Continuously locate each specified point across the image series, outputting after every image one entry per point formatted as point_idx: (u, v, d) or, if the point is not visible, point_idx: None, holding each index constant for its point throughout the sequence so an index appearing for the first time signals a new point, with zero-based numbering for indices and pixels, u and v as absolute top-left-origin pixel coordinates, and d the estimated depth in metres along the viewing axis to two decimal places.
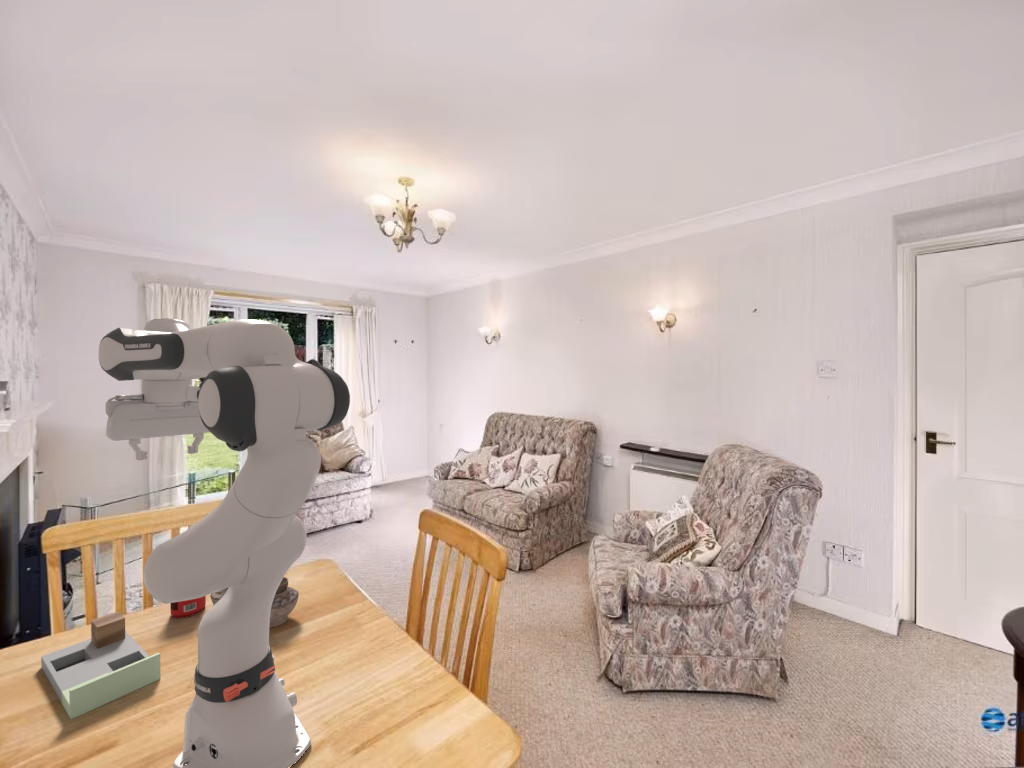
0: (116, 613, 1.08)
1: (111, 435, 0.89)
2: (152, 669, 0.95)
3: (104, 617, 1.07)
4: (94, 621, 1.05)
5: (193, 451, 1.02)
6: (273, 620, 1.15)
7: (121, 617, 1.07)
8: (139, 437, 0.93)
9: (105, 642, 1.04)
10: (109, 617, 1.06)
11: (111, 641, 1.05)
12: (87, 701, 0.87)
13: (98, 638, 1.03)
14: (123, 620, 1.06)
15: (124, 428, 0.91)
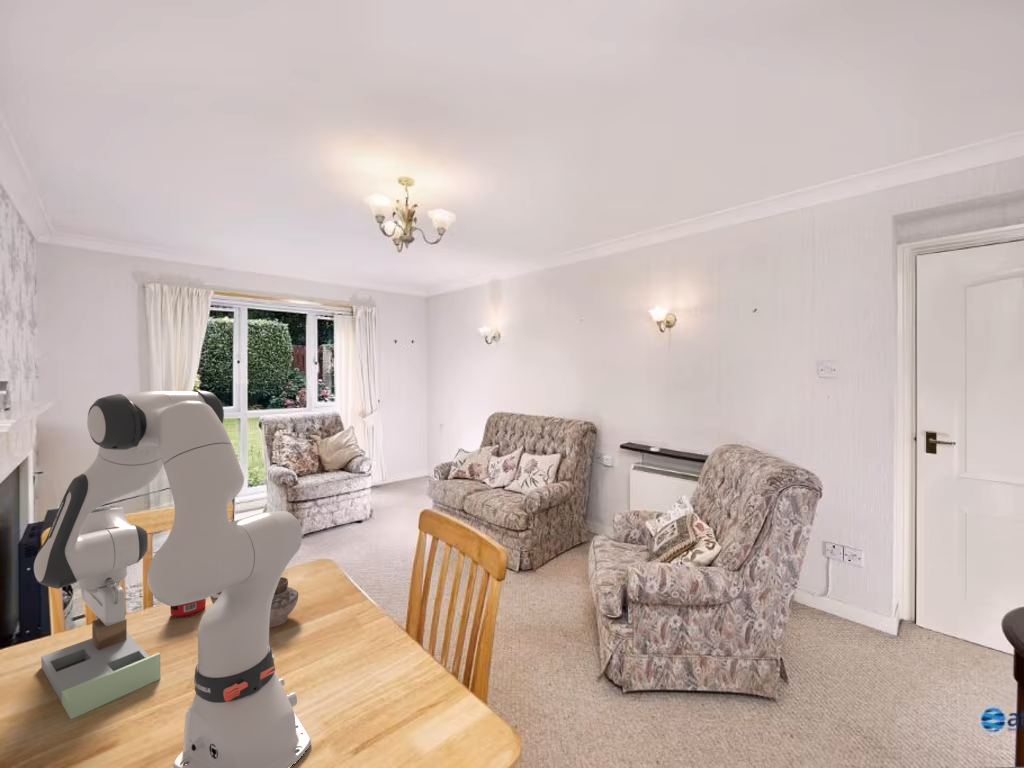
0: None
1: (124, 616, 1.04)
2: (152, 669, 0.95)
3: None
4: (95, 622, 1.04)
5: None
6: (273, 620, 1.15)
7: None
8: None
9: (106, 643, 1.03)
10: None
11: (112, 642, 1.04)
12: (87, 701, 0.87)
13: (99, 639, 1.02)
14: (124, 622, 1.06)
15: None
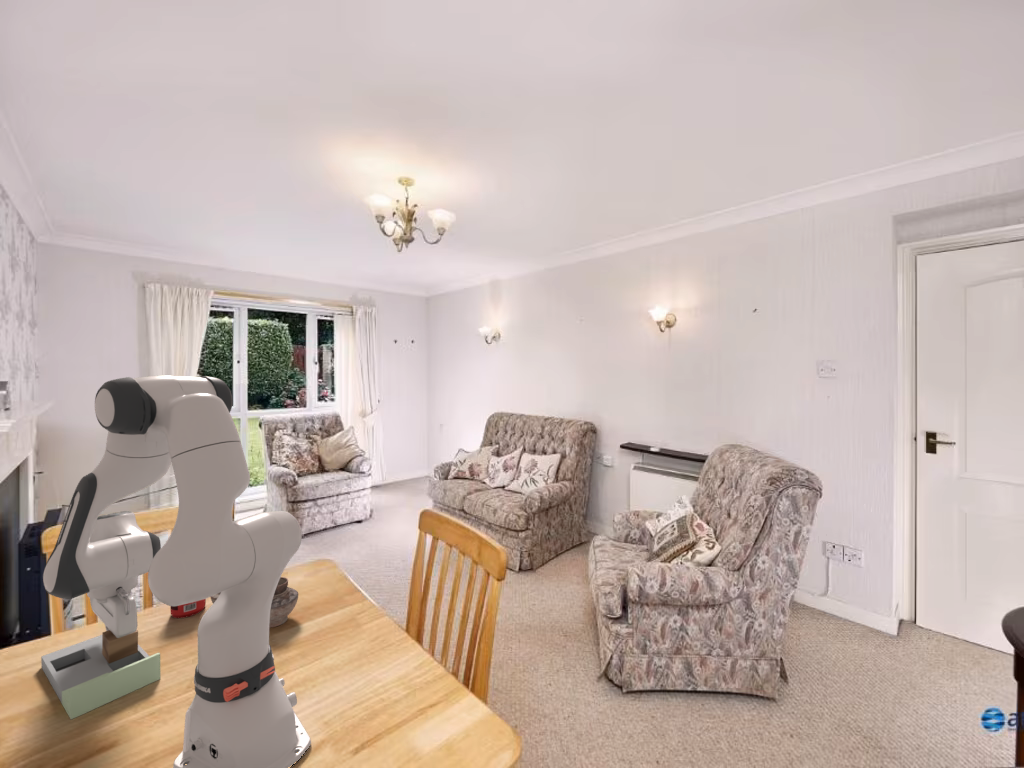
0: None
1: (136, 627, 0.99)
2: (152, 669, 0.95)
3: None
4: (106, 634, 0.99)
5: None
6: (273, 620, 1.15)
7: None
8: None
9: (117, 657, 0.98)
10: None
11: (123, 655, 0.99)
12: (87, 701, 0.87)
13: (110, 653, 0.97)
14: (136, 634, 1.01)
15: None
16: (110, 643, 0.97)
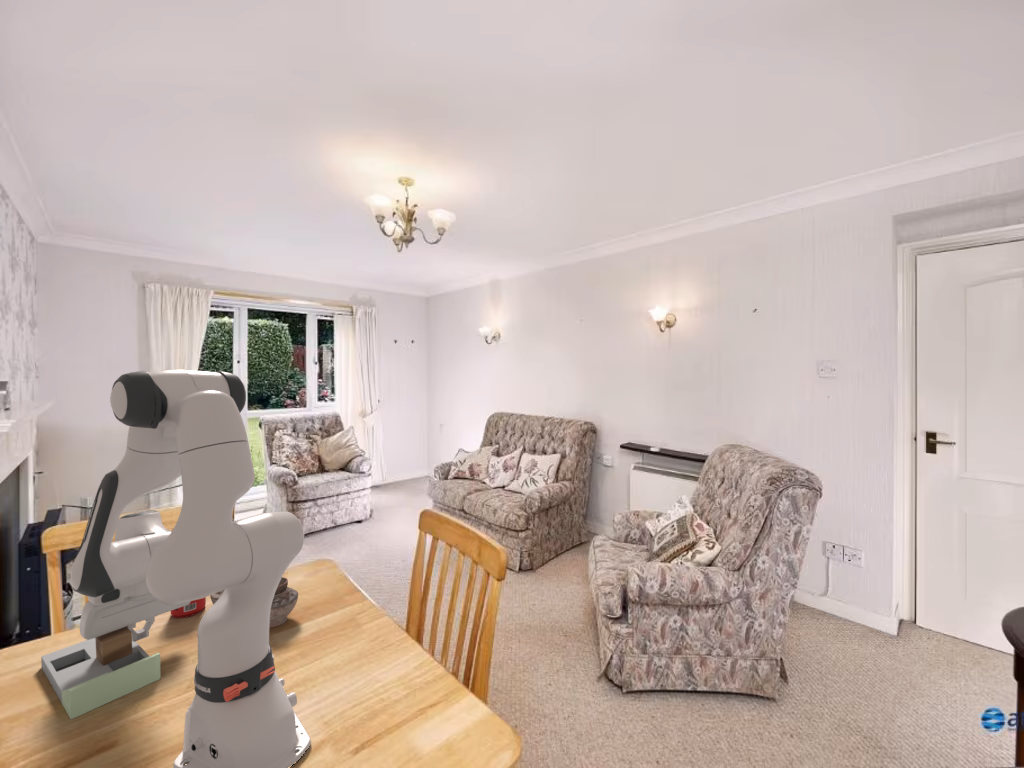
0: None
1: None
2: (152, 669, 0.95)
3: None
4: (99, 636, 0.99)
5: None
6: (272, 620, 1.15)
7: (127, 631, 1.01)
8: None
9: (111, 658, 0.98)
10: (114, 632, 1.00)
11: (117, 657, 0.99)
12: (87, 701, 0.87)
13: (104, 654, 0.97)
14: (129, 635, 1.00)
15: None
16: (103, 645, 0.97)
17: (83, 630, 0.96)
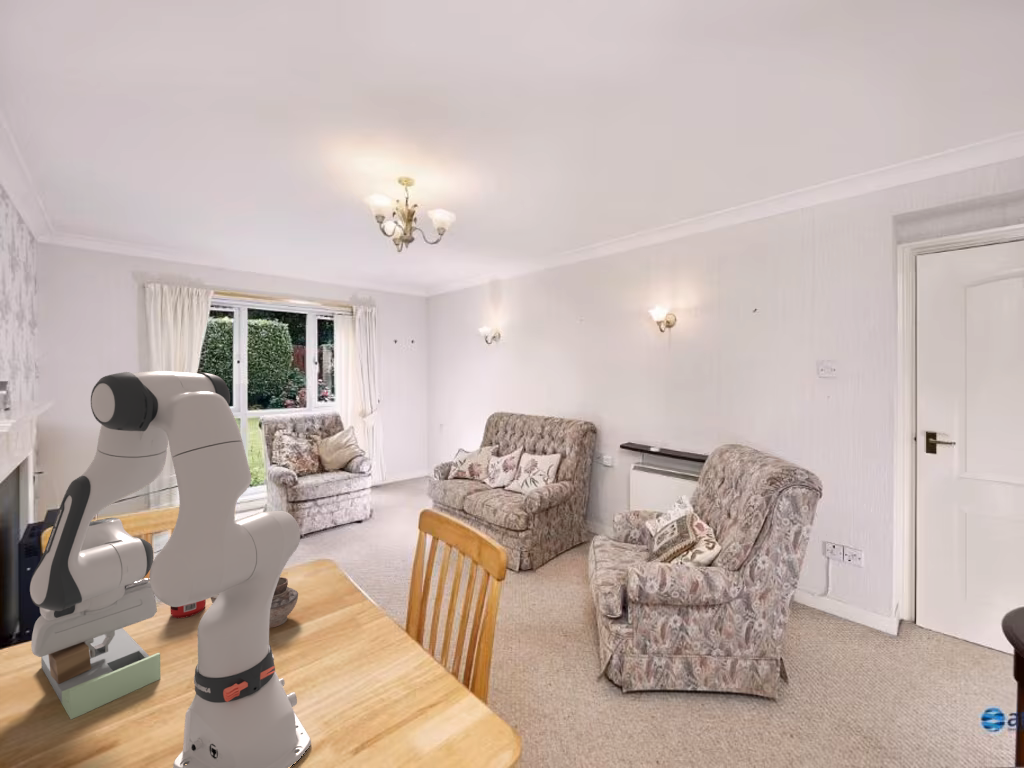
0: None
1: None
2: (152, 669, 0.95)
3: None
4: (52, 653, 0.93)
5: None
6: (272, 620, 1.15)
7: (84, 646, 0.95)
8: None
9: (67, 676, 0.92)
10: (70, 648, 0.94)
11: (74, 674, 0.93)
12: (87, 701, 0.87)
13: (58, 672, 0.91)
14: (86, 650, 0.94)
15: None
16: (57, 662, 0.91)
17: (34, 647, 0.90)
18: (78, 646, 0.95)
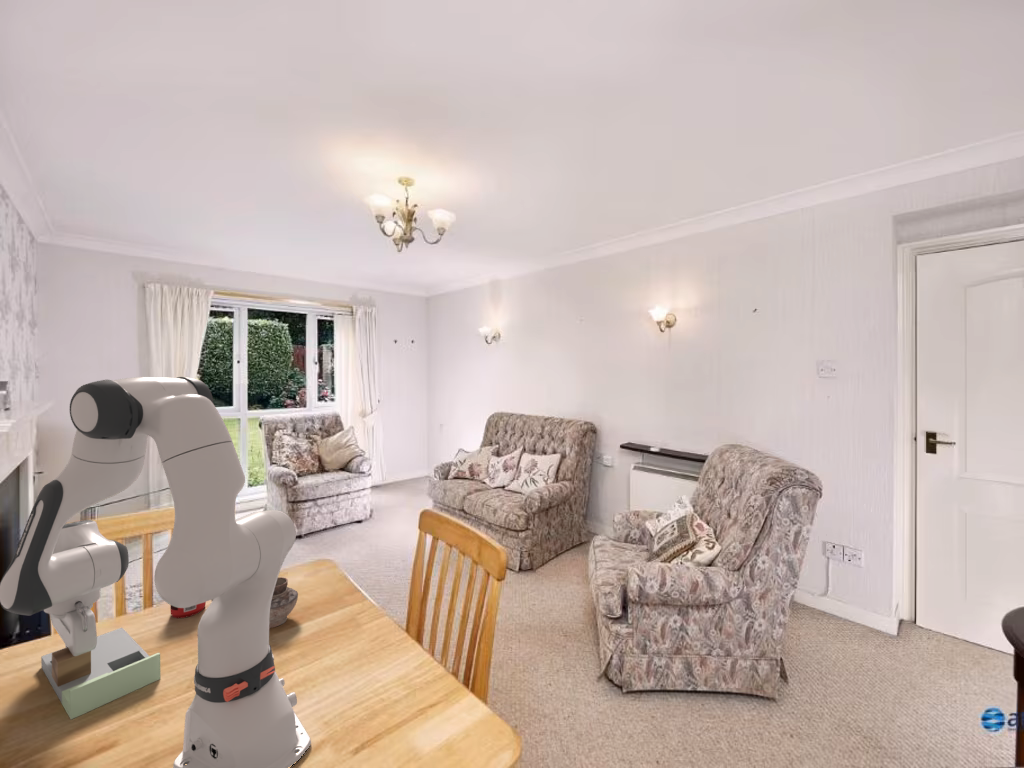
0: None
1: (95, 644, 0.93)
2: (152, 669, 0.95)
3: (67, 649, 0.94)
4: (55, 654, 0.92)
5: None
6: (272, 620, 1.15)
7: None
8: None
9: (67, 679, 0.91)
10: None
11: (74, 677, 0.92)
12: (87, 701, 0.87)
13: (59, 675, 0.90)
14: (88, 653, 0.94)
15: None
16: (59, 664, 0.90)
17: None
18: None
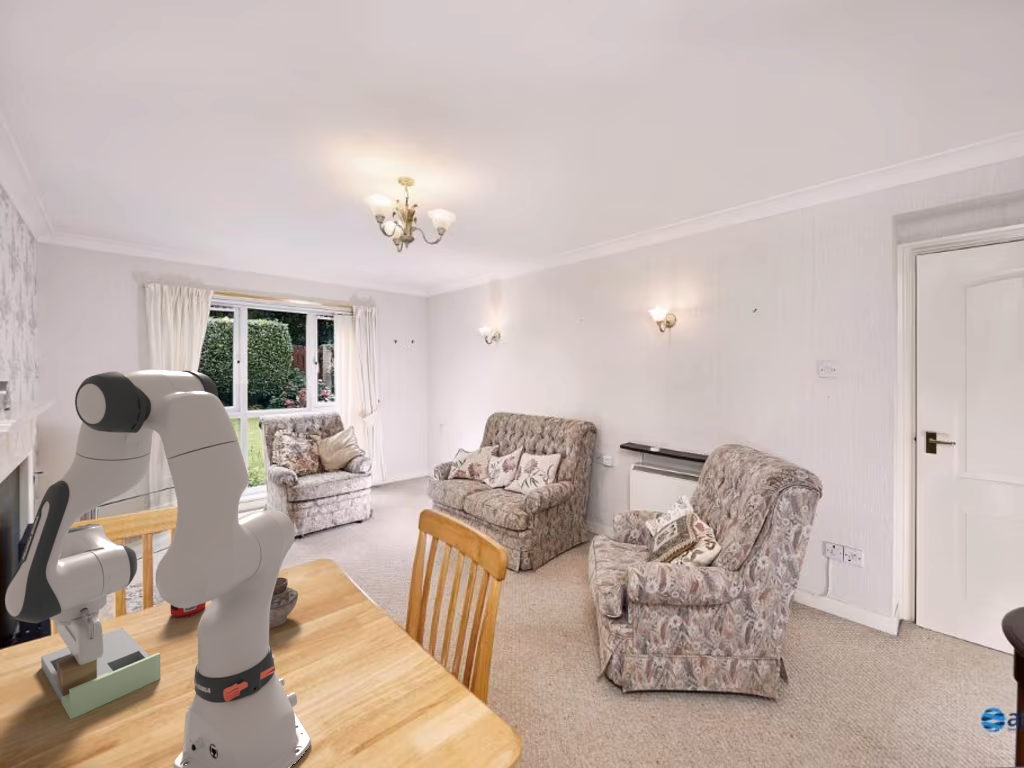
0: None
1: (102, 652, 0.90)
2: (152, 669, 0.95)
3: (72, 657, 0.91)
4: (60, 662, 0.90)
5: None
6: (272, 621, 1.15)
7: None
8: None
9: None
10: None
11: None
12: (87, 701, 0.87)
13: (64, 684, 0.88)
14: (94, 662, 0.91)
15: None
16: (64, 673, 0.87)
17: None
18: None
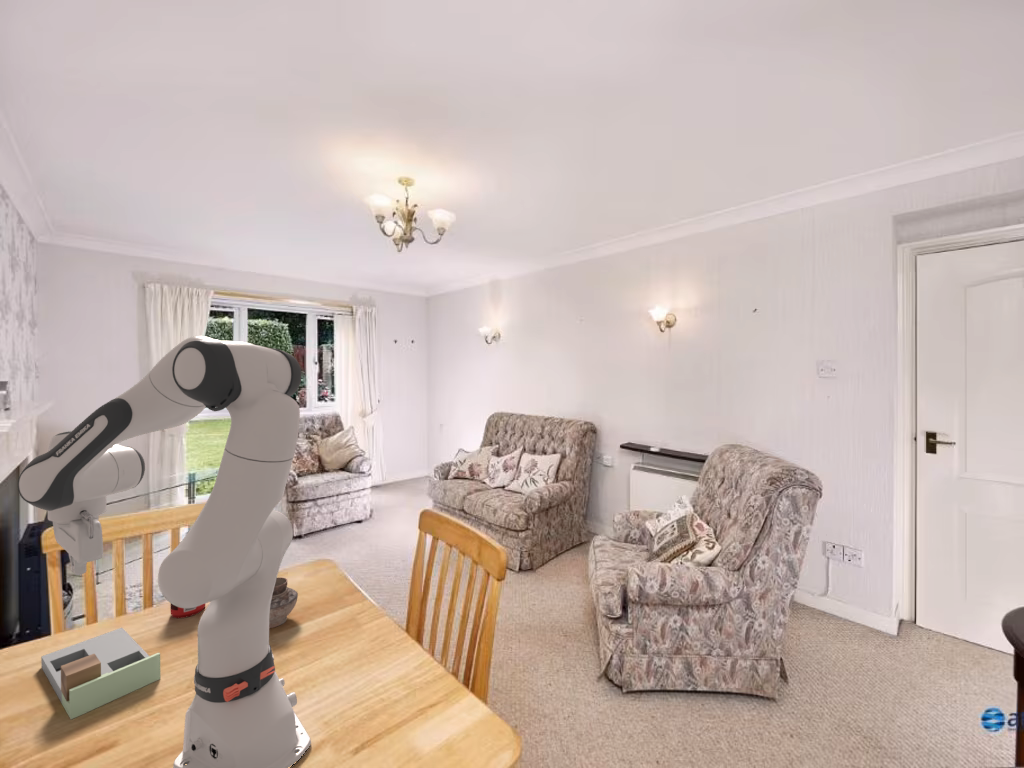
0: (91, 656, 0.92)
1: (101, 553, 0.89)
2: (152, 669, 0.95)
3: (76, 661, 0.90)
4: (64, 667, 0.88)
5: None
6: (272, 621, 1.15)
7: (96, 662, 0.90)
8: None
9: None
10: (82, 662, 0.90)
11: None
12: (87, 701, 0.87)
13: (68, 689, 0.86)
14: (98, 666, 0.90)
15: None
16: (68, 677, 0.86)
17: None
18: (91, 661, 0.90)
